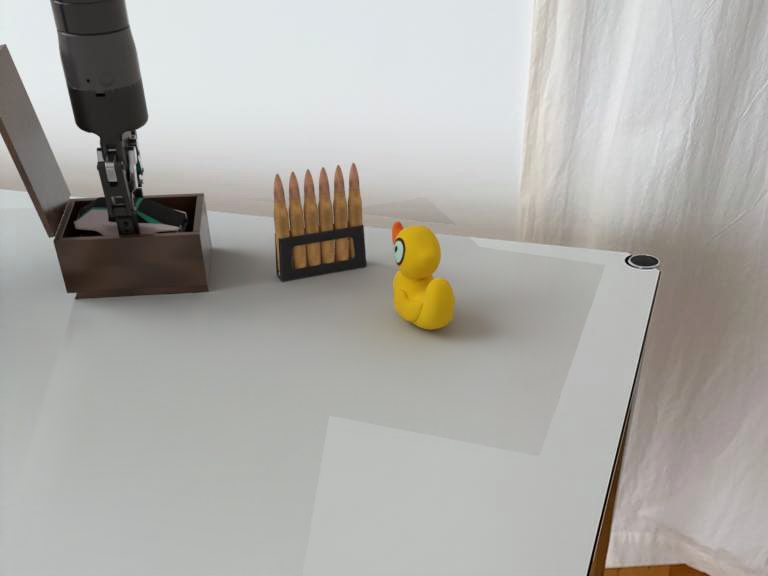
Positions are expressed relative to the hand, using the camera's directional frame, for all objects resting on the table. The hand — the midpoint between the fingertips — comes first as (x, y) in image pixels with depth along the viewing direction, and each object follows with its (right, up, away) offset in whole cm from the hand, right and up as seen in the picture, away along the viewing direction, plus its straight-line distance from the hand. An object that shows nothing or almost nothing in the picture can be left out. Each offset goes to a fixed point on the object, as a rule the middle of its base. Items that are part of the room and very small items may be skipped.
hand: (135, 233), depth 103 cm
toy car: (0, -1, +1) cm, 2 cm away
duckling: (+33, -11, -5) cm, 35 cm away
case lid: (-9, +7, -8) cm, 14 cm away
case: (0, -3, +3) cm, 5 cm away
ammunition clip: (+21, -3, +4) cm, 22 cm away
